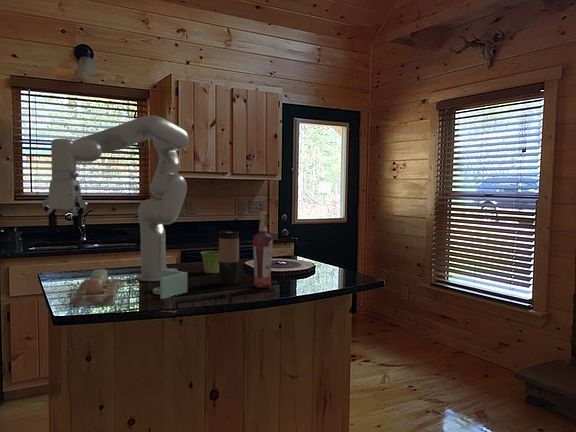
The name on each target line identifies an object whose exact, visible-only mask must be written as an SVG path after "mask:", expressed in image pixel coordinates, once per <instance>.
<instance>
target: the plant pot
mask: <svg viewBox="0 0 576 432" xmlns="http://www.w3.org/2000/svg"><path fill="white" fill-rule="evenodd" d="M200 254H201V257H202V263H203V269H204V270H203V272H204V273H205V274H213V273H214V274H219V250H206V251H205V250H203V251H200Z"/></svg>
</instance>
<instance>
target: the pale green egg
mask: <svg viewBox="0 0 576 432" xmlns="http://www.w3.org/2000/svg"><path fill="white" fill-rule="evenodd" d="M92 278H101V279H102V287H103V289H105V274H93V273H92V274H90V275H89V279H92Z"/></svg>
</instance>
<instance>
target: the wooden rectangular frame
mask: <svg viewBox="0 0 576 432" xmlns="http://www.w3.org/2000/svg"><path fill="white" fill-rule="evenodd" d="M86 280H87V279H86ZM86 280H85V279H84V280H83V281H82V282H81V284H80V285H79V286H78V288H77V289H76V291H75V292H74V294H73V295H72V296H71V306H72V308H75V307H76V308H79V307H94V306H95V307H96V306H97V305H98V306H113V305H114V304H115V301H116V298H117V296H118V292H119V289H120V278H110V279H109V278H107V284H105V289H103V294H101V295H87V291H86Z"/></svg>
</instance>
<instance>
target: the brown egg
mask: <svg viewBox="0 0 576 432" xmlns="http://www.w3.org/2000/svg"><path fill="white" fill-rule="evenodd" d="M86 291H87V295H101V294H103V287H102V279H101V278H92V279H90V278H87V279H86Z"/></svg>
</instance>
